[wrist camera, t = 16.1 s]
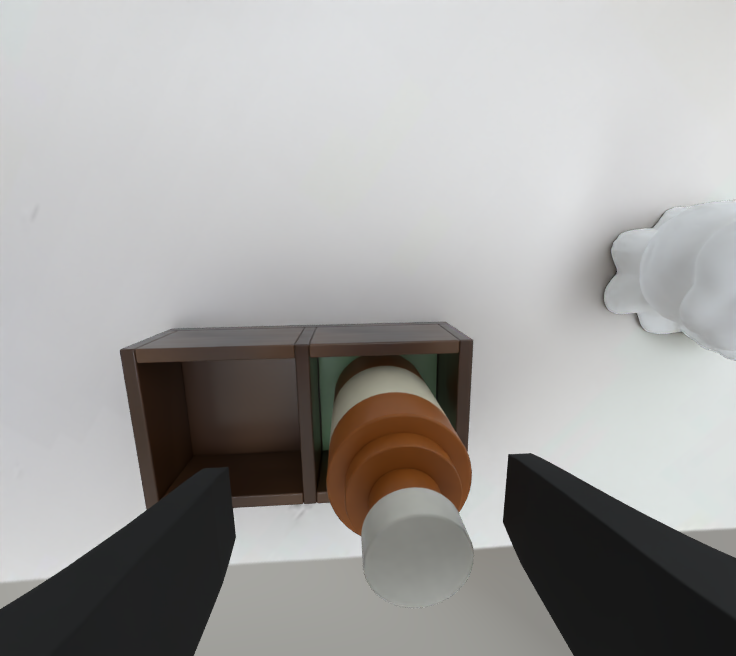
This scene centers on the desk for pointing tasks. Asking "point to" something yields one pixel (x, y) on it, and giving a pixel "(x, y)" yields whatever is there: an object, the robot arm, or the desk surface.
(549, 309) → the desk surface
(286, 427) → the wooden compartment tray
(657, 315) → the rabbit
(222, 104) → the desk surface
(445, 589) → the amber bottle
